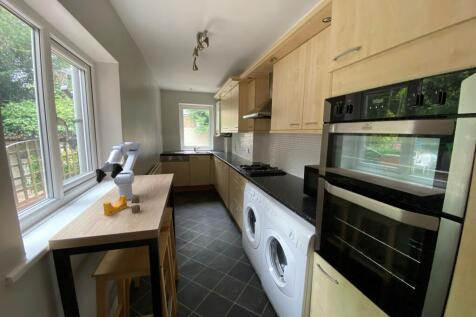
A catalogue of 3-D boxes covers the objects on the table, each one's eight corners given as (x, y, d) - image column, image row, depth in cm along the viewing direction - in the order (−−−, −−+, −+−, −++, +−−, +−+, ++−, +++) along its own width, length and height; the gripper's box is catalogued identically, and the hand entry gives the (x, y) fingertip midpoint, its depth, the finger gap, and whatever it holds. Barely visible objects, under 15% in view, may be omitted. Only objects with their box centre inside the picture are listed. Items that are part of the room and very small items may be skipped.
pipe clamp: (120, 206, 107) (119, 195, 106) (127, 206, 106) (126, 195, 105) (101, 215, 96) (100, 203, 95) (109, 216, 95) (107, 203, 94)
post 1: (131, 201, 113) (131, 196, 113) (139, 200, 115) (138, 195, 115) (131, 203, 110) (131, 198, 110) (139, 202, 112) (139, 197, 111)
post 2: (131, 211, 100) (131, 205, 99) (140, 209, 101) (139, 204, 101) (131, 213, 96) (131, 208, 96) (140, 212, 98) (140, 206, 98)
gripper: (96, 160, 102) (85, 178, 92) (121, 152, 101) (113, 170, 91) (105, 168, 107) (96, 187, 97) (129, 161, 106) (122, 179, 96)
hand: (105, 179), depth 94 cm, fingers open, 7 cm apart
